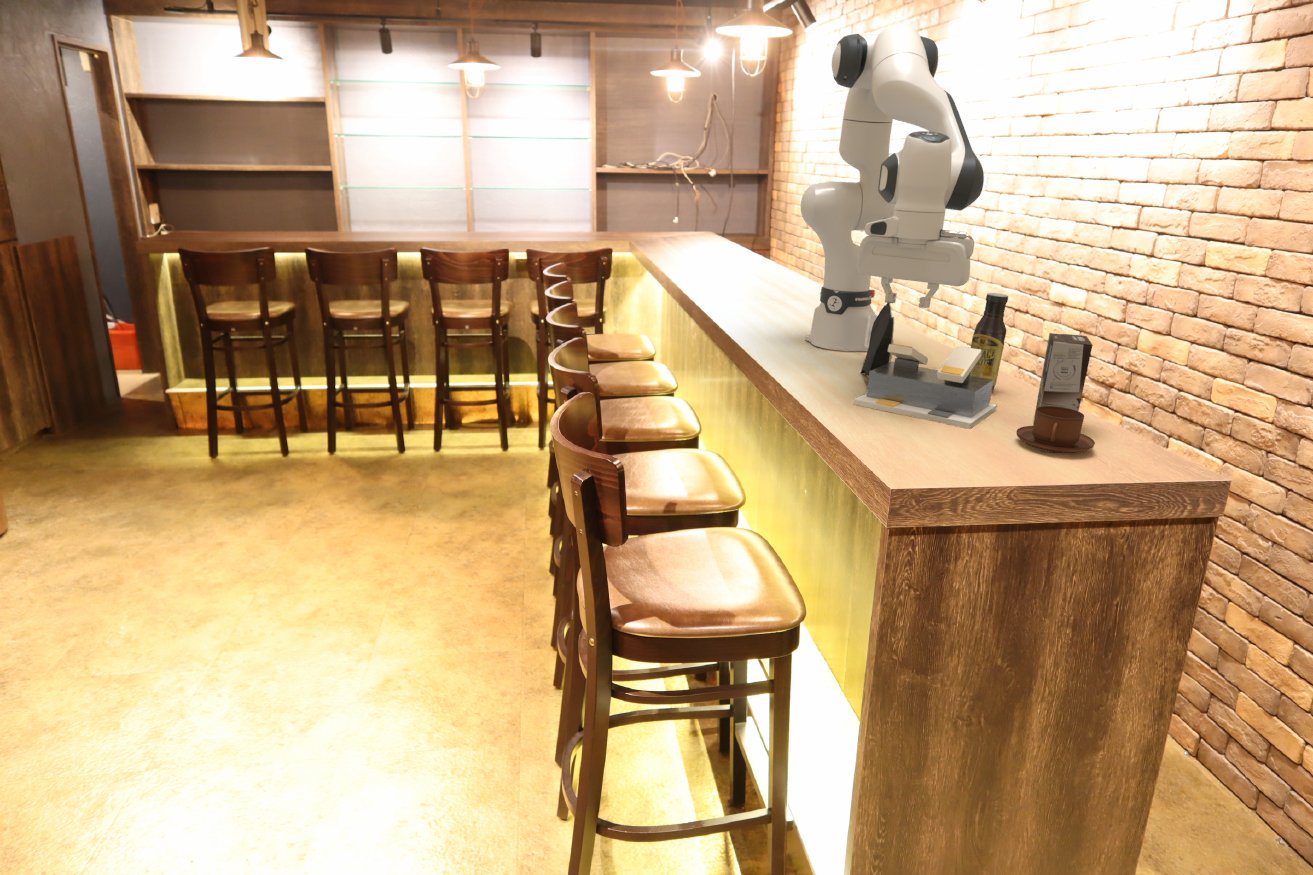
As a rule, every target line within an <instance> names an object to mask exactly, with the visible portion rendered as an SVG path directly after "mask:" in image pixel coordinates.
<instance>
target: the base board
mask: <svg viewBox="0 0 1313 875" xmlns="http://www.w3.org/2000/svg"><path fill="white" fill-rule="evenodd" d="M866 396H867V392H866V393H865V394H862V395H860V396H857V397H856V398H853V405H854V406H855V405H856V406H859V407H865V408H869V409H875V410H879V411H884V412H888V413H893V414H898V415H902V416H906V417H912V418H915V419H920V420H921V419H922V420H924V421H926V420H927V421H931V422H936V423H940V424H945V425H950V426H955V427H959V428H964V429H968V430H971V429H972V428H973V427H975V426H976V425H977V424H979V423H980V422H982V421H983V420H985V418H987V417H989V416H990V415H991V414H993V413H994V412H995V411H996V410H997V407H998V406H997V405H998V404H994V403H990V404H989V406H988V407H986V408H985V409H983V410H982V411H981V412H979V413H978V414H976V415H975V416H973V417H972V418H969V417H964V416H959V415H954V414H953V413H950V412H945V411H940V410H935V409H933V410H929V409H925V408H920V407H915V406H910V405H905V404H900V402H896V401H891V400H886V399H875V398H871V397H866Z"/></svg>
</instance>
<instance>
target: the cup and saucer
mask: <svg viewBox="0 0 1313 875" xmlns="http://www.w3.org/2000/svg"><path fill="white" fill-rule="evenodd" d="M1035 410H1036V412H1035V411H1034V416H1035V418H1033V425H1025V426H1021V427H1018V429H1016V436H1017V437H1018V439H1019V440H1020V441H1021V442H1022V443H1024V444H1025V445H1028V446H1030V447H1032V448H1035V449H1038V450H1040V451H1044V452H1049V453H1055V454H1064V455H1065V454H1066V455H1067V454H1068V455H1069V454H1070V455H1072V454H1073V455H1074V454H1081V453H1085V452H1086V453H1087V452H1088V451H1090V450H1092V449H1093V448H1094V447H1095V445H1096V442H1095V440H1094V439H1093V438H1092V437H1091V436H1088V435H1086V434H1084V433H1082V432H1081V431H1082V428H1083V422H1084V419H1085V414H1083V413H1082V412H1081V411H1080V410H1079V411H1076V410H1073V409H1069V408H1064V407H1057V406H1041V407H1037V408H1036V407H1035Z"/></svg>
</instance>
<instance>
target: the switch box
mask: <svg viewBox="0 0 1313 875" xmlns="http://www.w3.org/2000/svg"><path fill="white" fill-rule="evenodd" d="M919 365H920V364H919V361H915V360H909V359H903V358H898V357H895V358H894V361H891V362H890V363H888V364H885V365H883V366H881V367H878V368H876V369H874V370H871V371H869V376H868V382H867V389H866V393H867V396H866V397H871V398H875V399H886V400H891V401H896V402H900V404H905V405H910V406H915V407H920V408H925V409H929V410H933V409H935V410H940V411H945V412H950V413H953V414H954V415H959V416H964V417H969V418H972V417H973V416H975V415H976V414H978V413H979V412H981V411H982V410H983V409H985V408H986V407H988V406H989V404H991V403H990V402H991V396H992V392H993V391H992V386H993V380H991V379H986V378H980V377H974V376H971V374H972V370H971V372H970V373H969V375H968V376H967V377H966V379H965V380H964V382H963V383H959V382H953V381H948V380H942V379H937V372H938V371H939V369H934V368H929V367H922V366H919Z"/></svg>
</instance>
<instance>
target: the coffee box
mask: <svg viewBox="0 0 1313 875" xmlns="http://www.w3.org/2000/svg"><path fill="white" fill-rule="evenodd" d="M1093 345H1094V344H1093V343H1092V342H1091V341H1090V339H1089V337H1088V336H1087V335H1080V334H1067V333H1062V334H1061V333H1052V332H1049V334H1048V339H1047V344H1046V351H1045V355H1044V360H1043V367H1042V371H1041V378H1040V382H1039V383H1040V384H1039V388H1038V389H1039V390H1038V393H1037V394H1038V395H1037V400H1036V406H1035V411H1034V413H1035V412H1036V408H1037V407H1041V406H1057V407H1064V408H1069V409H1073V410H1076V411H1079V412H1080V406H1081V402H1082V397H1083V392H1084V388H1085V382H1086V377H1087V373H1088V368H1089V364H1090V359H1091V356H1092V355H1091V354H1092V350H1093ZM1033 417H1034V418H1035V415H1034V416H1033ZM1034 418H1033V419H1034Z"/></svg>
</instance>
